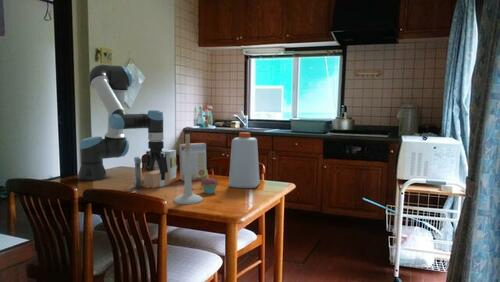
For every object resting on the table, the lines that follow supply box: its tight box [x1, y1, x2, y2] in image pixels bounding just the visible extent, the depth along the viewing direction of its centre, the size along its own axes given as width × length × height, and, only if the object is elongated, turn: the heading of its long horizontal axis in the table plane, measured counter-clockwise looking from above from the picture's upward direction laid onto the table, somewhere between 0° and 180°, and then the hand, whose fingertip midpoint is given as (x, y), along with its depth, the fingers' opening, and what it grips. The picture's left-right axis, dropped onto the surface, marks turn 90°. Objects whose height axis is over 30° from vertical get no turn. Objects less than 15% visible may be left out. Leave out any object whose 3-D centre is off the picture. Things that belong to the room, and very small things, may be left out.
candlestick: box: [173, 133, 204, 205], centre depth 163 cm, size 13×13×30 cm
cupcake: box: [200, 168, 219, 194], centre depth 180 cm, size 9×8×12 cm
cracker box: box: [178, 142, 207, 182], centre depth 207 cm, size 14×6×21 cm, turn 115°
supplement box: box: [154, 149, 177, 181], centre depth 208 cm, size 10×9×17 cm
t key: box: [133, 156, 142, 190], centre depth 181 cm, size 2×10×15 cm, turn 25°
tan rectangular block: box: [142, 169, 170, 189], centre depth 189 cm, size 8×12×7 cm
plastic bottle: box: [228, 131, 261, 189], centre depth 195 cm, size 15×15×28 cm
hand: (156, 184), depth 190 cm, fingers closed on tan rectangular block, 8 cm apart
